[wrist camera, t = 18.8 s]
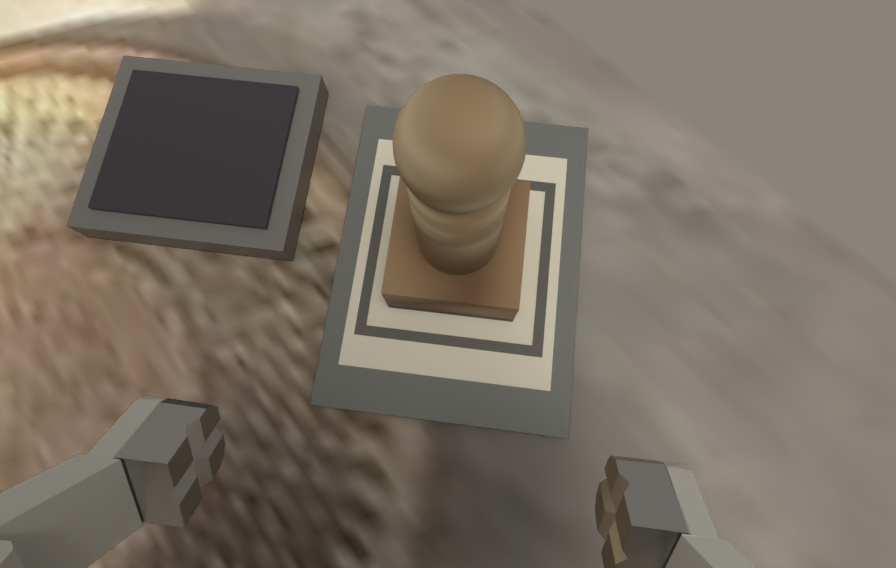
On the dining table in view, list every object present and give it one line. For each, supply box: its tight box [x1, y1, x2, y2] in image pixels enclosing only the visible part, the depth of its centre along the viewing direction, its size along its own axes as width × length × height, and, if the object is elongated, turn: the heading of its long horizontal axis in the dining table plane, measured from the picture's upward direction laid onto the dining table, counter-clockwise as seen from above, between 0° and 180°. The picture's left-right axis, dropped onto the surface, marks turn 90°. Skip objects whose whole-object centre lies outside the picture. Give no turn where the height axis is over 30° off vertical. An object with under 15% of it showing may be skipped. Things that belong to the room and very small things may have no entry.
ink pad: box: [66, 56, 328, 261], centre depth 27 cm, size 11×10×2 cm
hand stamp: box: [381, 74, 531, 322], centre depth 20 cm, size 6×6×13 cm
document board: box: [310, 105, 588, 438], centre depth 26 cm, size 12×16×1 cm
